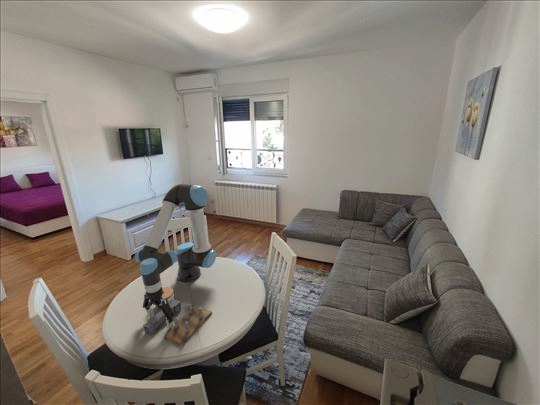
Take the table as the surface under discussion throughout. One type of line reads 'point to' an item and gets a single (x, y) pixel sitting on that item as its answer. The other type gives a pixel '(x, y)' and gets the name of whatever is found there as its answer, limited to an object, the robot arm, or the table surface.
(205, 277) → the table surface
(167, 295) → the lidded jar
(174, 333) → the rack
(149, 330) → the grey notched bar
